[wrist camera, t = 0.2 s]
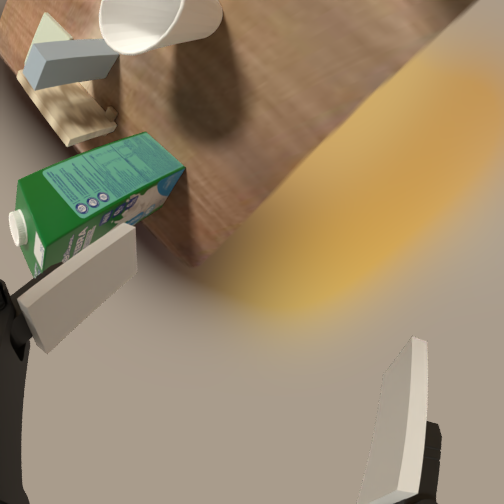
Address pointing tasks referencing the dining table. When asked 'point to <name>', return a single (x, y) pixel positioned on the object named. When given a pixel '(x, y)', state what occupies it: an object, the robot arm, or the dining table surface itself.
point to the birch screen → (71, 111)
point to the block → (68, 62)
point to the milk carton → (90, 198)
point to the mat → (49, 32)
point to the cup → (156, 23)
